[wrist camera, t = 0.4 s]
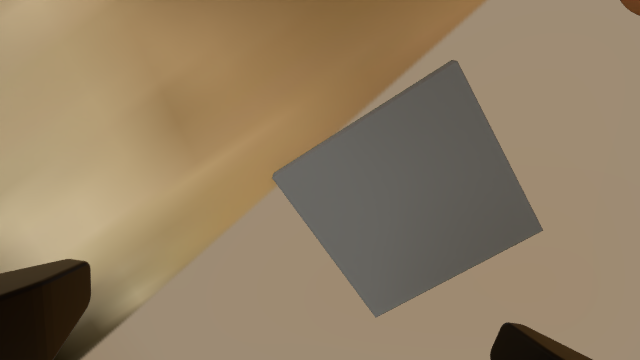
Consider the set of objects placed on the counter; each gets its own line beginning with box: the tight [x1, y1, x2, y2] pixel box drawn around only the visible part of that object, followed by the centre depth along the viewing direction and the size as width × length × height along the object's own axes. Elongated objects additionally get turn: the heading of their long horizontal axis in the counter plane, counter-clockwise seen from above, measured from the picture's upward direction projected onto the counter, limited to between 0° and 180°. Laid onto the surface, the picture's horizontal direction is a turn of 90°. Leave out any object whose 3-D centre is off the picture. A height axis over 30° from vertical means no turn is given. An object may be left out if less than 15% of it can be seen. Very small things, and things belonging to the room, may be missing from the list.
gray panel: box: [272, 60, 543, 317], centre depth 22 cm, size 11×11×1 cm
